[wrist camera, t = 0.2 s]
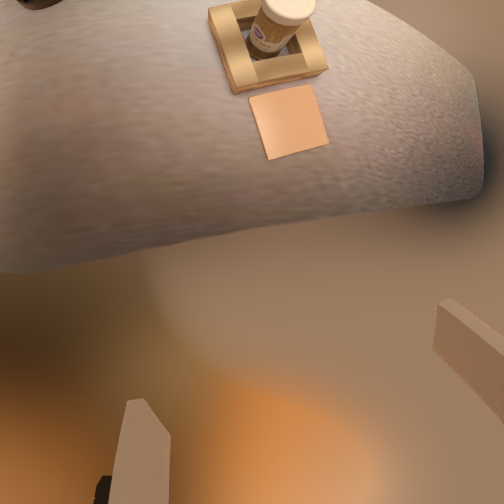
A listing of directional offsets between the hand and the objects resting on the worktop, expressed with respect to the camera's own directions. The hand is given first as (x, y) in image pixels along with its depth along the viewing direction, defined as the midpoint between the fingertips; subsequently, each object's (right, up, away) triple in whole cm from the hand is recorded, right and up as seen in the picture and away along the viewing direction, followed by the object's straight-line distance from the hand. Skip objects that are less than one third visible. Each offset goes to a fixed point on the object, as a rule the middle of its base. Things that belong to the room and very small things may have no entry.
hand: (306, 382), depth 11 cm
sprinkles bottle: (-1, +31, +19) cm, 36 cm away
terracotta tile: (+2, +21, +23) cm, 31 cm away
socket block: (-1, +31, +19) cm, 36 cm away
